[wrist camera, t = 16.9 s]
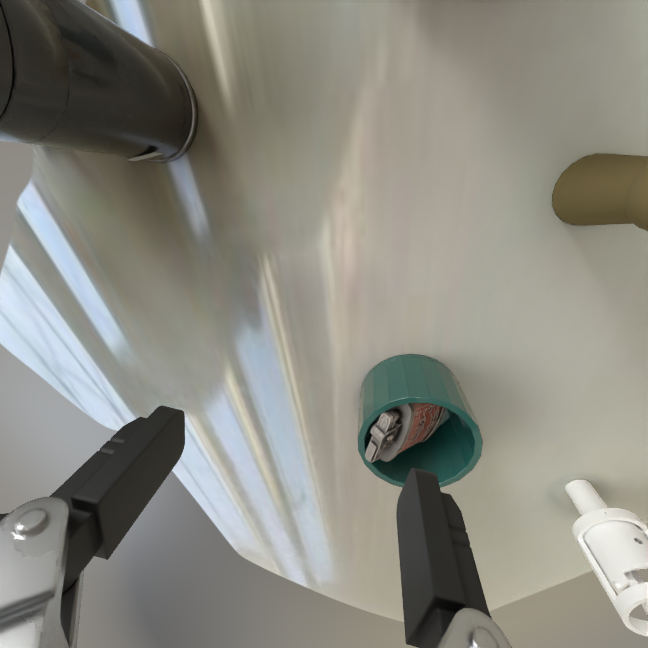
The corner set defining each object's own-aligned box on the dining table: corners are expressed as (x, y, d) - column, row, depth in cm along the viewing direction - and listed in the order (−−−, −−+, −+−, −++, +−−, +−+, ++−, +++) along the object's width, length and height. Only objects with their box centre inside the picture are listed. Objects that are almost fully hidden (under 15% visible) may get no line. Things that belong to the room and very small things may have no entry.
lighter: (430, 376, 37) (375, 395, 31) (455, 393, 35) (401, 418, 29) (407, 427, 41) (352, 454, 34) (428, 446, 38) (374, 478, 32)
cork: (604, 231, 30) (723, 253, 20) (540, 218, 30) (624, 233, 20) (643, 160, 27) (802, 144, 17) (572, 147, 27) (688, 123, 17)
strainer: (553, 510, 44) (635, 656, 30) (544, 474, 42) (627, 613, 28) (612, 501, 42) (728, 653, 28) (605, 463, 40) (728, 608, 26)
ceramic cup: (362, 432, 43) (360, 486, 35) (358, 354, 38) (355, 396, 31) (456, 435, 41) (475, 493, 33) (464, 353, 36) (489, 398, 29)
